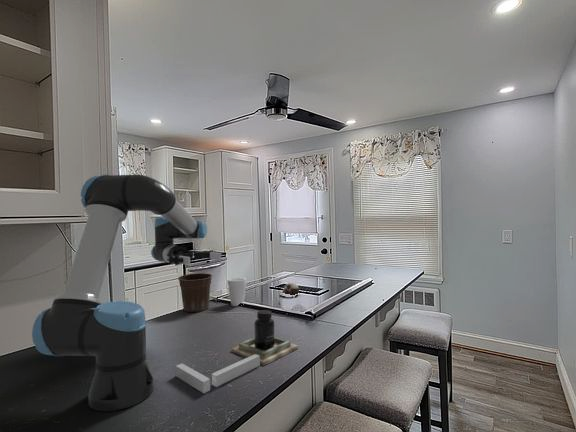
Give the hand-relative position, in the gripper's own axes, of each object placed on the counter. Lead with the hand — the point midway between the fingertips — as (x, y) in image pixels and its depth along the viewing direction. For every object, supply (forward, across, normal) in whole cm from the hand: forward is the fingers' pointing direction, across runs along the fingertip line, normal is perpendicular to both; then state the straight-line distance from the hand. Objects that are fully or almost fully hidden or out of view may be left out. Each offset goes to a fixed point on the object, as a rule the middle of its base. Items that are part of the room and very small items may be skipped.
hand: (205, 258), depth 121 cm
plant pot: (-37, -19, -30) cm, 52 cm away
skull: (-18, -68, -30) cm, 76 cm away
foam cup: (-27, -37, -30) cm, 55 cm away
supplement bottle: (+24, -7, -29) cm, 38 cm away
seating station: (+24, -7, -30) cm, 39 cm away
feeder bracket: (+24, +12, -30) cm, 40 cm away
